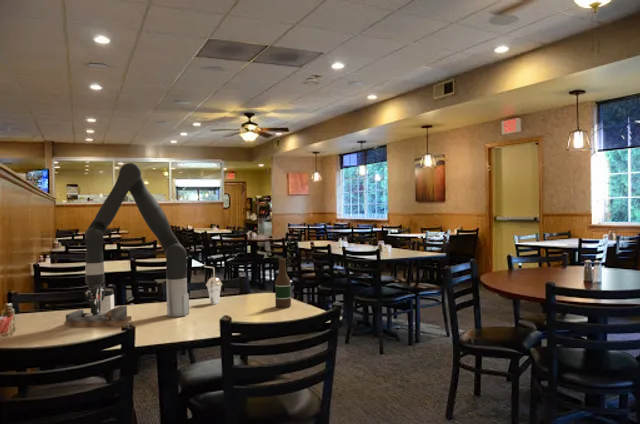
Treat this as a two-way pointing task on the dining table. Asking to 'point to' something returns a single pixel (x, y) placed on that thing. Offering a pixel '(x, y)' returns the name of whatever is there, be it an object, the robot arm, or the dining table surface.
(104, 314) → the red ball joystick
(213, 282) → the cup with straw
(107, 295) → the jar
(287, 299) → the beer bottle
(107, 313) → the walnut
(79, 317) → the bench
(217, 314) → the dining table surface
